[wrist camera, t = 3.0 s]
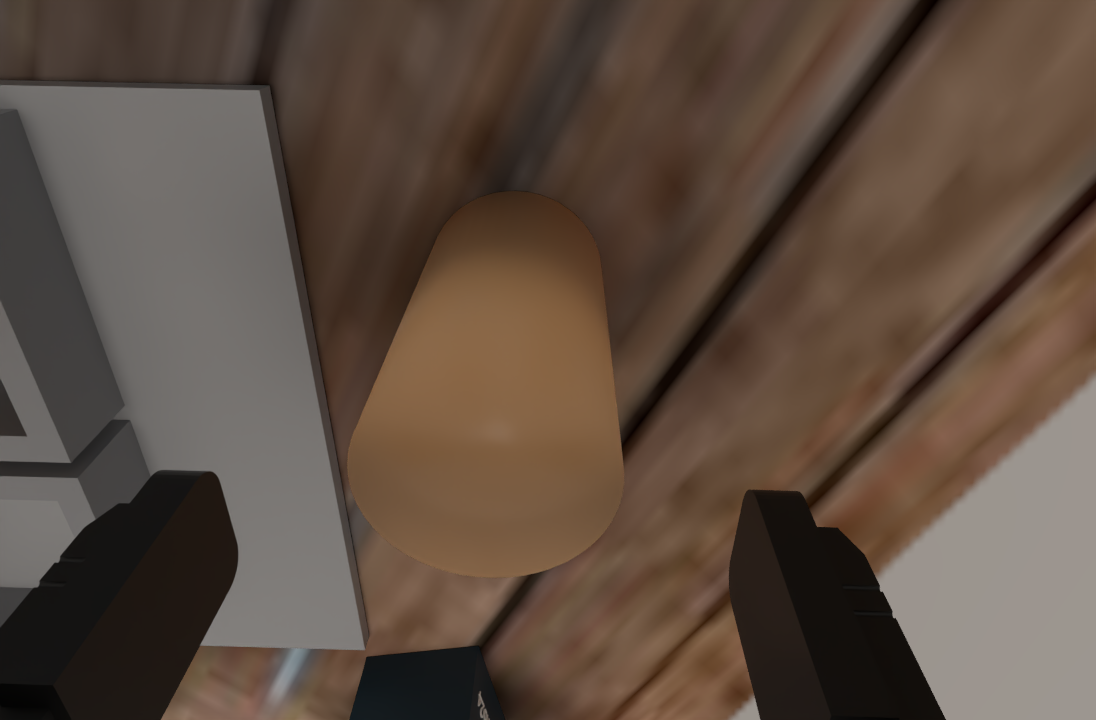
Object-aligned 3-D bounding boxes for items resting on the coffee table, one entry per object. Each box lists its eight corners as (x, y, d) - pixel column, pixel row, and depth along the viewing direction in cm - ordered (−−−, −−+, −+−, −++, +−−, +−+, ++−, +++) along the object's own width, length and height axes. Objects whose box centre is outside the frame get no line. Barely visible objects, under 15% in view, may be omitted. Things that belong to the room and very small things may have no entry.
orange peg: (424, 188, 17) (327, 361, 10) (606, 192, 17) (634, 368, 10) (436, 346, 19) (364, 574, 12) (597, 350, 19) (614, 581, 12)
